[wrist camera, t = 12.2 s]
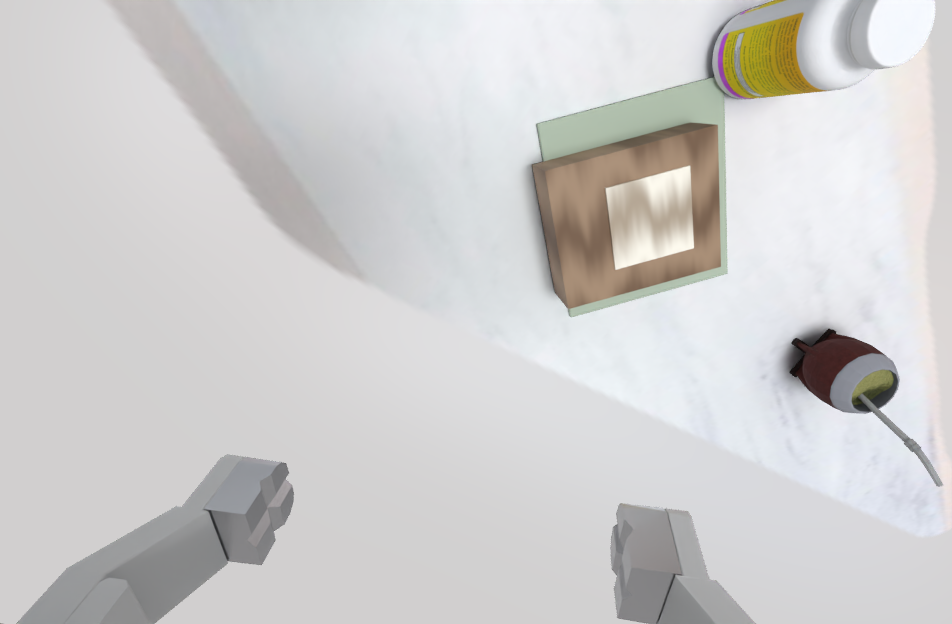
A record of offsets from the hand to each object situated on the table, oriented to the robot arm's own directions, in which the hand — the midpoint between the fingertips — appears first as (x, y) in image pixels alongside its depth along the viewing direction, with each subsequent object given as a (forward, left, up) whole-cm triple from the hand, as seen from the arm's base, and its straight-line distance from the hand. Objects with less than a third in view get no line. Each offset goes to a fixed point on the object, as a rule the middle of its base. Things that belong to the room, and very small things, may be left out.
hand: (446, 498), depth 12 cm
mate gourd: (+27, +38, -33) cm, 57 cm away
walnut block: (+5, +11, -31) cm, 33 cm away
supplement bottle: (-5, +30, -33) cm, 45 cm away
